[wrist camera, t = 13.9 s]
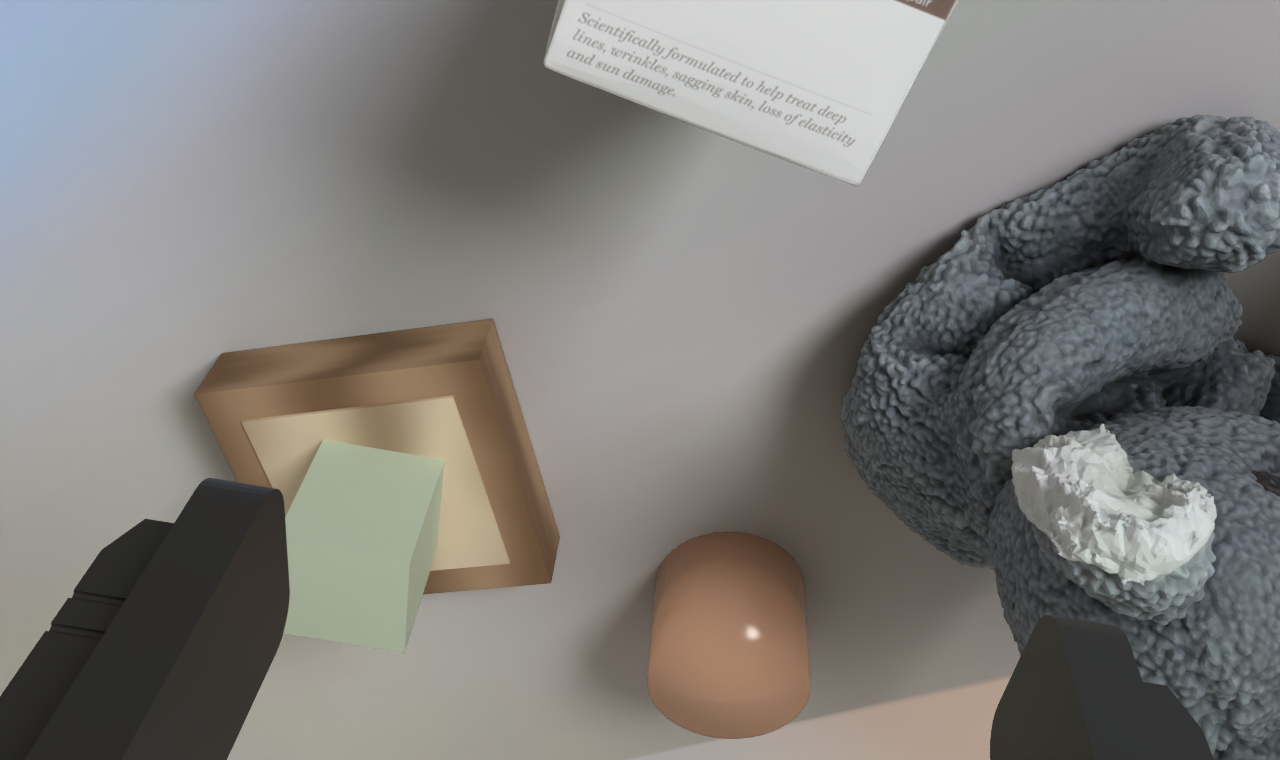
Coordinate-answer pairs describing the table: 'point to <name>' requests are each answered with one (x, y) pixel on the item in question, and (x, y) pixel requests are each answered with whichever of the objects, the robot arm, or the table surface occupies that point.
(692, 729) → the tan rounded block
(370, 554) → the sage block
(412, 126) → the table surface
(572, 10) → the skincare box
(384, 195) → the table surface
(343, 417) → the walnut base
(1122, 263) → the koala plush
